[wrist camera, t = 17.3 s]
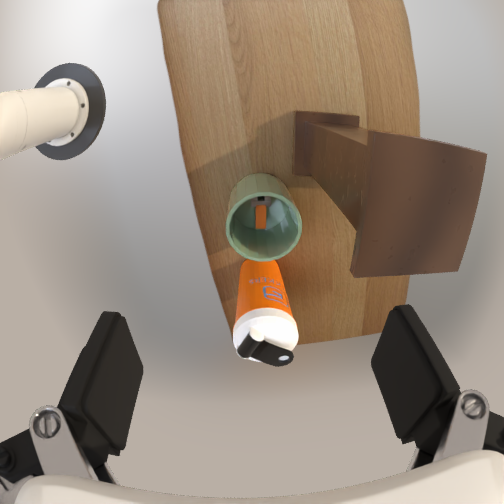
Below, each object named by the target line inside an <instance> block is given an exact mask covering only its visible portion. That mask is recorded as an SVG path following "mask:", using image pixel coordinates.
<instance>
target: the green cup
mask: <svg viewBox="0 0 504 504" xmlns="http://www.w3.org/2000/svg"><path fill="white" fill-rule="evenodd" d="M257 196H271V207H266V229H256V226H255V207H251V198H254V197H257ZM301 233H302V220H301V217H300V213H299V211H298V209H297V206H296V204H295V202H294V200H293V198H292V196H291V194H290V192H289V190H288V188H287V187H286V185H285V184H284V183H283V182H282V181H281V180H280V179H278V178H277V177H275V176H273V175H270V174H265V173H256V174H251V175H248V176H246V177H244V178H243V179H241V180H240V181H239V182H238V183H237V184H236V185H235V186H234V188H233V189H232V191H231V194H230V198H229V203H228V210H227V218H226V236H227V238H228V240H229V243H230V245H231V246H232V247H233V248H234V250H235V251H236V252H237V253H238V254H240V255H242V256H243V257H245V258H247V259H250V260H254V261H257V262H265V261H272V260H276V259H279V258H281V257H283V256H285V255H286V254H288V253H289V252H290V251H291V250H292V249H293V248H294V247H295V246H296V244H297V243H298V240H299V238H300V236H301Z"/></svg>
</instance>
